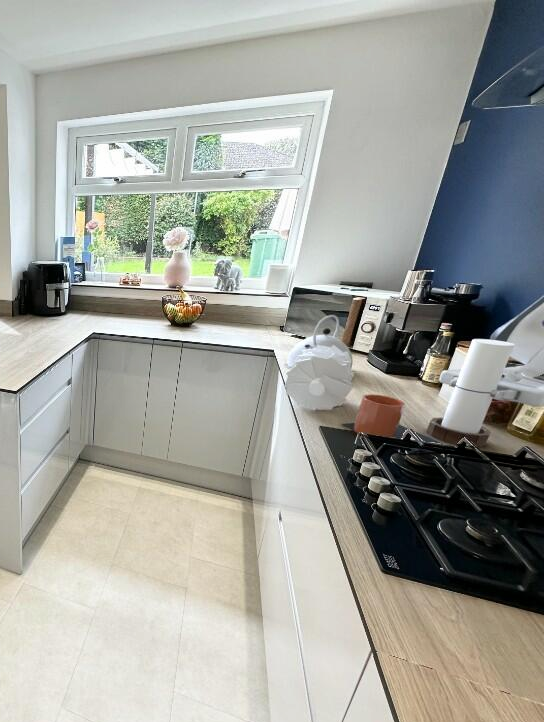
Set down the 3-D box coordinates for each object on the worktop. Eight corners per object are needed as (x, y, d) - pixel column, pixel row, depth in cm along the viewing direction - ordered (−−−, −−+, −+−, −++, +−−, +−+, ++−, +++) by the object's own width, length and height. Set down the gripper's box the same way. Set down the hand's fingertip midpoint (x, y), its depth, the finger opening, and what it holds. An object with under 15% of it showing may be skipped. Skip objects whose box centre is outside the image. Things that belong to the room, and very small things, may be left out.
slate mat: (458, 451, 102) (458, 450, 101) (402, 455, 100) (402, 453, 100) (390, 422, 118) (391, 420, 118) (341, 424, 117) (342, 423, 117)
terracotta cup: (402, 439, 108) (414, 405, 104) (373, 441, 107) (384, 407, 104) (372, 425, 116) (382, 393, 113) (345, 427, 115) (354, 395, 112)
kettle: (330, 380, 155) (345, 322, 147) (272, 365, 173) (283, 314, 166) (361, 370, 166) (377, 317, 159) (304, 358, 185) (315, 309, 177)
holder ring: (497, 446, 104) (502, 434, 103) (460, 448, 103) (465, 436, 102) (450, 427, 115) (454, 416, 114) (416, 429, 114) (420, 418, 112)
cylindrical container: (433, 427, 111) (464, 339, 102) (451, 424, 112) (484, 338, 104) (464, 439, 104) (501, 346, 96) (484, 436, 106) (522, 344, 97)
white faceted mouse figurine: (291, 420, 129) (300, 394, 147) (360, 411, 117) (360, 384, 135) (274, 368, 127) (285, 349, 146) (341, 353, 115) (344, 334, 134)
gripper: (462, 362, 116) (429, 366, 112) (567, 384, 97) (532, 390, 94) (454, 383, 118) (422, 387, 114) (556, 408, 99) (522, 414, 96)
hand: (472, 389), depth 104 cm, fingers closed on cylindrical container, 7 cm apart
